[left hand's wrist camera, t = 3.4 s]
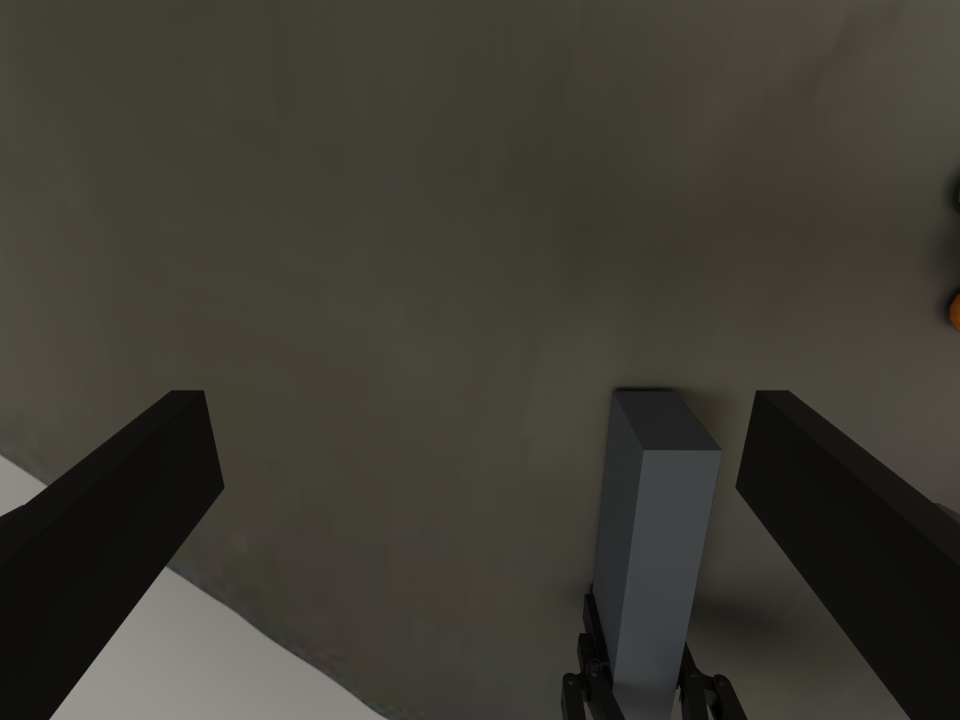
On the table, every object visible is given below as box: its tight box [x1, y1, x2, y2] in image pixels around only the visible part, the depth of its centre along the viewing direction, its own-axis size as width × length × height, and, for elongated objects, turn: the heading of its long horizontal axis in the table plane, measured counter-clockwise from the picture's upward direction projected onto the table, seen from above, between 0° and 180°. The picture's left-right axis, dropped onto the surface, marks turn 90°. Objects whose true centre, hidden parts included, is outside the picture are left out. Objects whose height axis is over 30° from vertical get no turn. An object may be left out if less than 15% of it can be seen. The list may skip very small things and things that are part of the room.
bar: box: [592, 391, 722, 720], centre depth 39 cm, size 24×5×8 cm, turn 0°
